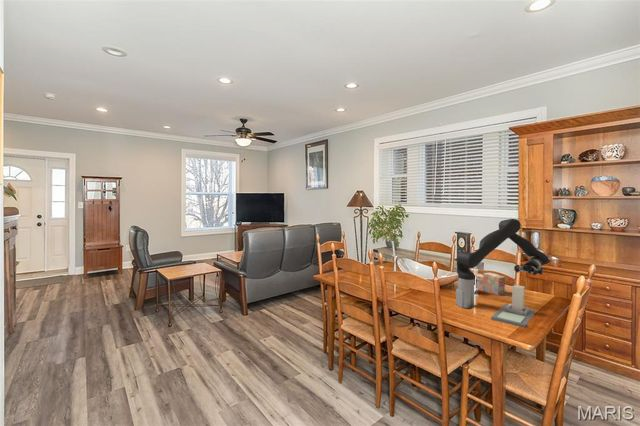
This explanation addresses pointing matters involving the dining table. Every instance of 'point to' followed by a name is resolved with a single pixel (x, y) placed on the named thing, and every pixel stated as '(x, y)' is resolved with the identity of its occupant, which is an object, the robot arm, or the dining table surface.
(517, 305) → the cream block
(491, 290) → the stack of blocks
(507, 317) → the grey tray
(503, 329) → the dining table surface
